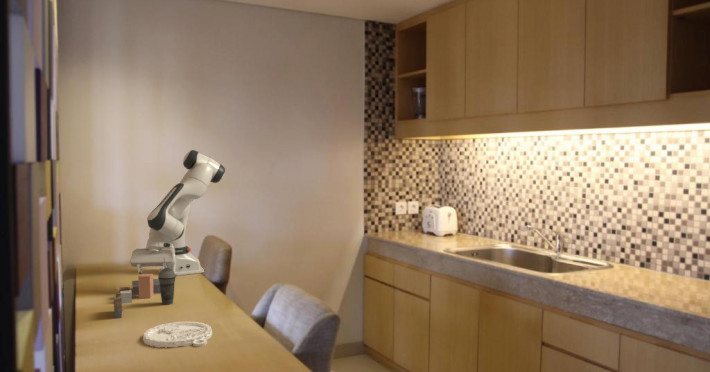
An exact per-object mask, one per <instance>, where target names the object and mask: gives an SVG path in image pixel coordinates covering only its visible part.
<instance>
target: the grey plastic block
mask: <svg viewBox="0 0 710 372" xmlns="http://www.w3.org/2000/svg"><path fill="white" fill-rule="evenodd" d="M120 293H122V304H130V303H131V304H132V303H133V300H132V299H133V290H131V289H130V290H129V291H120Z"/></svg>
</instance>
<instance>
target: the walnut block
mask: <svg viewBox="0 0 710 372" xmlns="http://www.w3.org/2000/svg"><path fill="white" fill-rule="evenodd" d="M129 290H131V286H123V287H121V286H120V287H118V294H119V293H120V291H129Z"/></svg>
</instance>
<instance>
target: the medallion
mask: <svg viewBox="0 0 710 372" xmlns="http://www.w3.org/2000/svg"><path fill="white" fill-rule="evenodd" d="M212 336H213V330H212V326H211V325H209V324H207V323H204V322H198V321H190V320H189V321H177V322H176V321H175V322H170V323H169V322H168V323H163V324H158V325H156V326H153V327H150V328H149V329H146V330H145V332H143V336H142V342H143V341H144V342H143V343H144V344H145V345H147V346H149V345H150V347H153V346H155V347H154V348H160V347H165V348H164V349H168V348H167V347H175V348H179V347H178V346H184V347H187V346H186V345H190V346H193V345H194V346H193V347H196V346H200V347H203V346H204V345H205V346H206V344H207V345H208V340H209V339H210V338H211V337H212ZM192 344H193V345H192ZM205 346H204V347H205Z"/></svg>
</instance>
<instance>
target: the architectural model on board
mask: <svg viewBox="0 0 710 372" xmlns="http://www.w3.org/2000/svg"><path fill="white" fill-rule="evenodd" d="M113 309H114V310H113V312H114V314H113V316H114V318H113V319H115V320H117V319H122V316H123V315H122V314H123V303H122V293H119V292H118V293H115V294H114V299H113Z"/></svg>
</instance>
